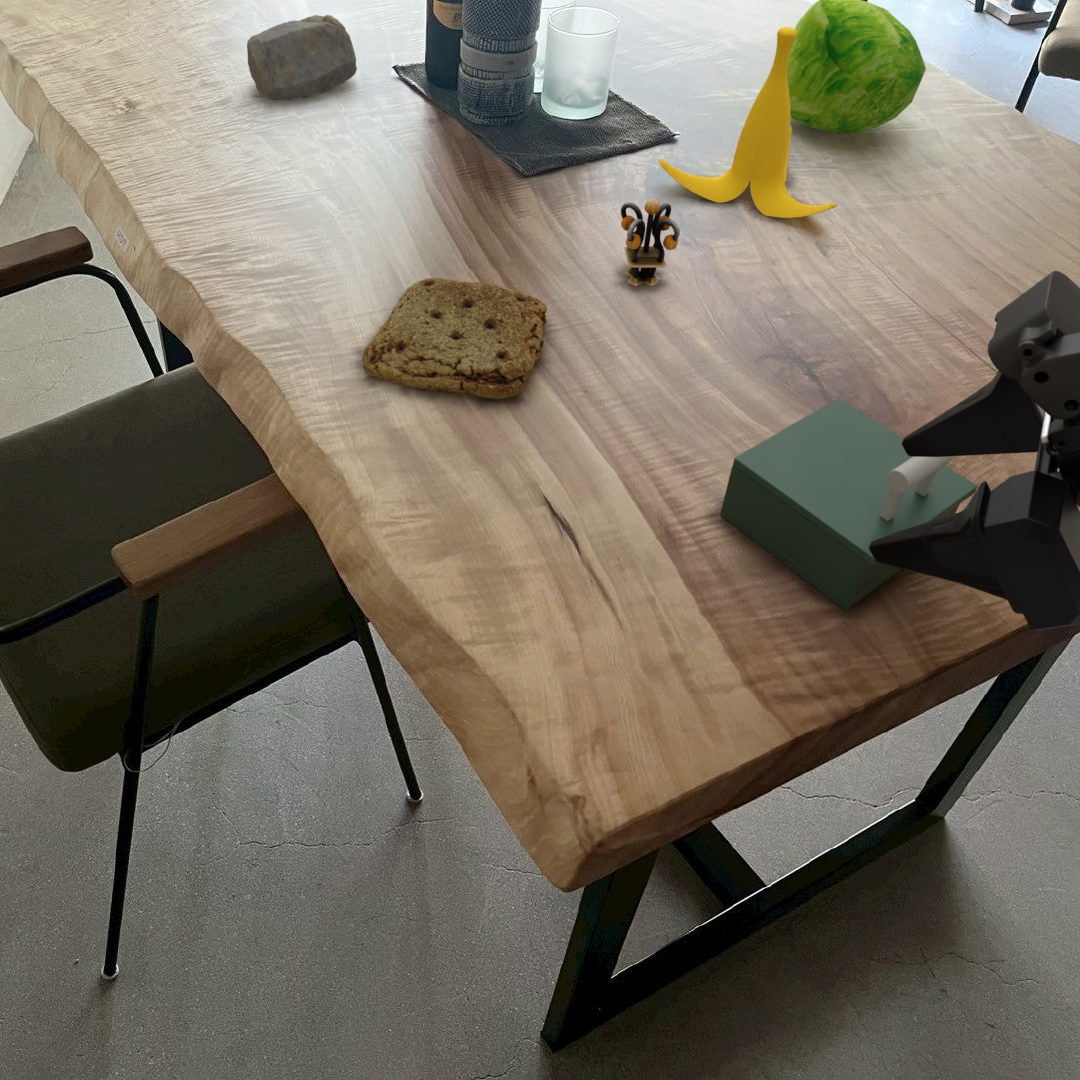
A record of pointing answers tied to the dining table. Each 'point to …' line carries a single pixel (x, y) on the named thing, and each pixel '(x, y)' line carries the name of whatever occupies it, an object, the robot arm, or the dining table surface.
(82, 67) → the dining table surface
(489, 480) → the dining table surface
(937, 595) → the dining table surface
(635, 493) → the dining table surface
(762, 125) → the banana peel
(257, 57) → the stone
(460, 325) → the pastry
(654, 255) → the figurine
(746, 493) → the chest
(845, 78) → the lettuce
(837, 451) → the lid
